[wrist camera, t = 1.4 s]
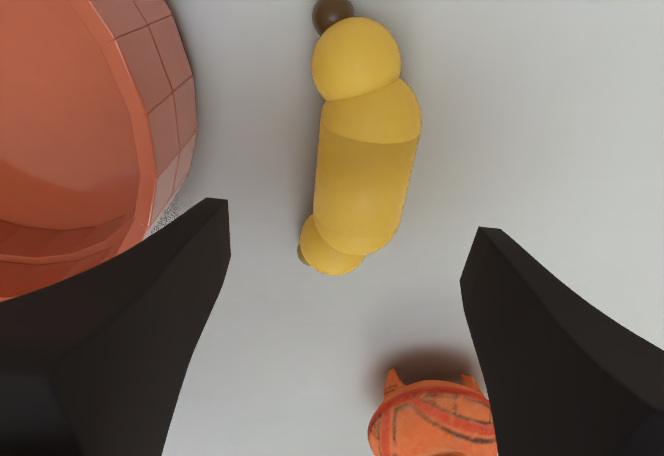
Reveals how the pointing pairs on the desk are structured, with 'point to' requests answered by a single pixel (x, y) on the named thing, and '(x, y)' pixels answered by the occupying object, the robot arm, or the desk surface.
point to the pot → (432, 419)
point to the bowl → (87, 133)
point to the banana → (357, 140)
